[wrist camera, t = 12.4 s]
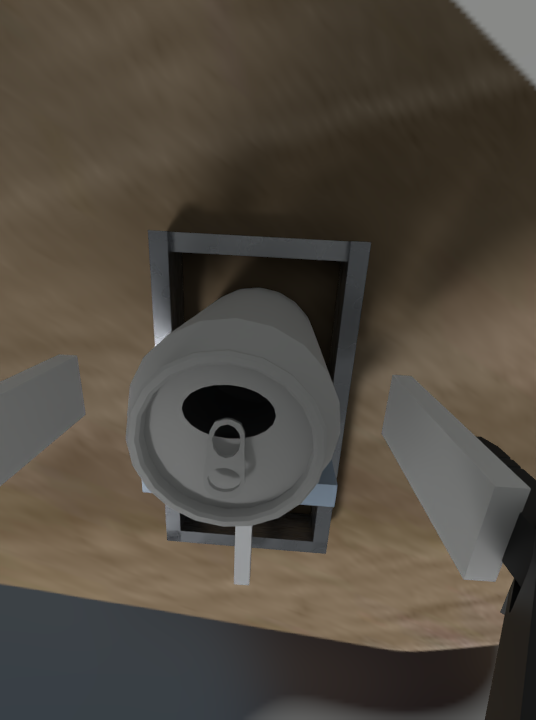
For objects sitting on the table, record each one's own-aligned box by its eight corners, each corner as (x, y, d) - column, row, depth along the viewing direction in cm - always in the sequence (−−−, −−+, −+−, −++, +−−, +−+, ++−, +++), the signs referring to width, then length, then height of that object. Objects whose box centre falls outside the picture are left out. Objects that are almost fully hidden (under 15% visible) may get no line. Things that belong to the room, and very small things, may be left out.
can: (321, 290, 20) (371, 341, 8) (308, 401, 22) (333, 558, 11) (200, 281, 20) (86, 319, 9) (200, 392, 22) (111, 537, 11)
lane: (178, 513, 26) (167, 540, 23) (164, 232, 19) (147, 230, 17) (322, 525, 25) (325, 553, 23) (360, 243, 19) (371, 242, 16)
